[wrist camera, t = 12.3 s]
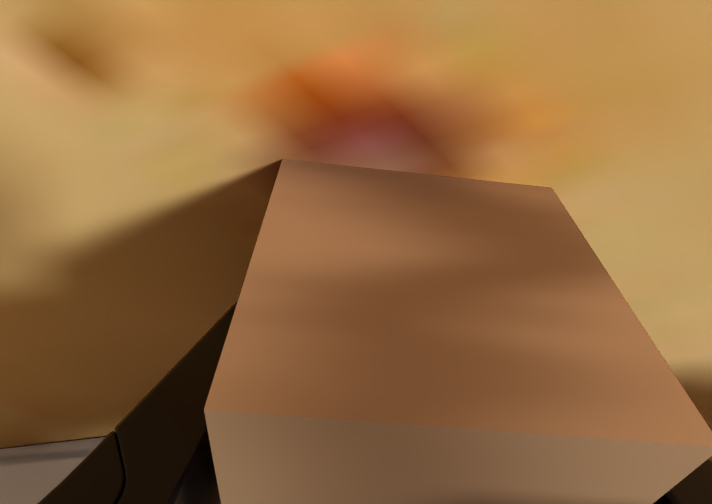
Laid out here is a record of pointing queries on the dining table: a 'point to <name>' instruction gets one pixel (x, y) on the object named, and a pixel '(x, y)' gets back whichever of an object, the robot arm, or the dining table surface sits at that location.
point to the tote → (39, 468)
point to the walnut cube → (438, 354)
